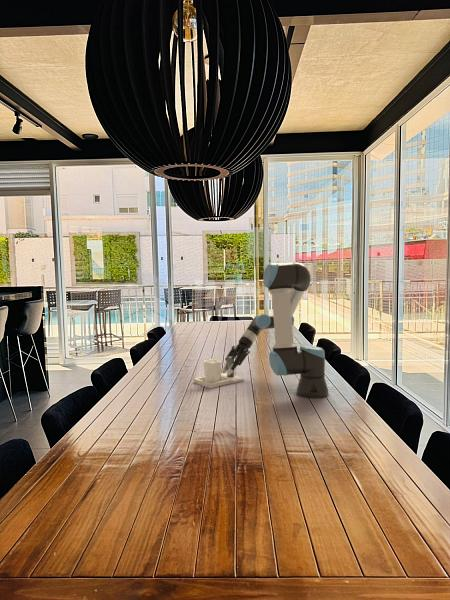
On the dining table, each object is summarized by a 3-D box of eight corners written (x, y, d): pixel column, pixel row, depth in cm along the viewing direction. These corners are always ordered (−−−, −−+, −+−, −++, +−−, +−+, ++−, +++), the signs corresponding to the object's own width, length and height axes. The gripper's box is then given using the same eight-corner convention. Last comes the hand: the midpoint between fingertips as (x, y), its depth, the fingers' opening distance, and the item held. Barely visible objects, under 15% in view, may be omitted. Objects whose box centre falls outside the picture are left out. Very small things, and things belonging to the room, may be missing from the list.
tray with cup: (244, 380, 235) (243, 358, 234) (210, 388, 222) (210, 365, 220) (226, 374, 248) (225, 353, 247) (193, 381, 234) (192, 359, 233)
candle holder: (200, 384, 230) (199, 362, 229) (209, 379, 239) (209, 358, 238) (216, 386, 226) (216, 363, 225) (225, 381, 234) (224, 359, 233)
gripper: (261, 345, 241) (238, 380, 232) (241, 341, 254) (219, 374, 246) (253, 337, 237) (231, 372, 228) (234, 333, 250) (212, 366, 242)
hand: (225, 373), depth 237 cm, fingers closed on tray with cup, 4 cm apart
